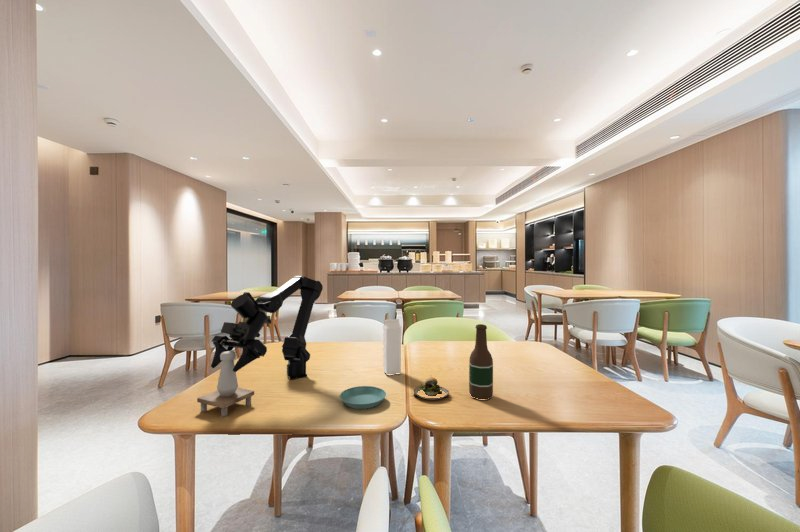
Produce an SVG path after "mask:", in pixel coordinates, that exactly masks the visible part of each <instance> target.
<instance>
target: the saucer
mask: <svg viewBox="0 0 800 532" xmlns="http://www.w3.org/2000/svg"><path fill="white" fill-rule="evenodd" d="M386 396H387V392H386V391H385V390H384V389H383V388H379V387H376V386H371V385H362V386H353V387H350V388H347V389H345V390H343V391H342V392H340V395H339V398H340V400H341V401H342V402H343V404H345V405H346V406H347V407H349V408H351V409H355V410H366V409H367V408H368V409H371V407H372V408H375V407H377V406H379V405H380V404H381V403H382V402H383V400H385V398H386ZM374 406H375V407H374Z"/></svg>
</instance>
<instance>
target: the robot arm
mask: <svg viewBox="0 0 800 532" xmlns="http://www.w3.org/2000/svg"><path fill="white" fill-rule="evenodd" d="M298 290H300V296H301V297H300V298H301V302H300V306H299V308H298V312H297V315H296V319H295V322H294V325H293V328H292V333H291V334H290V335H289V336H285V337H284V340H283V344H282V345H281V347H282V349H281V353H282V354H283V359H284V361H287V364H286V375H287V377H288V378H289V379H290V380H292V379H299V378H305V377H308V374H307V362H308V361H309V360H310V358H311V353H310V352H309V351H308V350H307V340H306V337H305V336H306V332H307V328H308V325H309V322H310V317H311V315H312V312H313V311H312V310H313V307H314V303H315V302H316V301H317V300H318V299H319V298H320V296H321V294H322V291H323V284H322V283H321V281H320V280H315V279H312V278H309V277H307V276H304V275H294V276H292V278H291V279H290V280H288V281H287V282H285V283H284V284H283V285H281V286H279V288H276V289H275V290H274V291H271V292H268V293H267V292H266V293H264V294H262V295H260V296H258V297H257V298H256V299H254V297H253V296H252V295H253V294H251V293H250V292H247V291H244V292H243V293H242V294H241V295H239V296H237V297H235V298H233V300H232V301H231V304H230V306H231V308H232V309H233V310H234V311H235V312H236V313H237V314H238V315H239V316H240V318H242V319H246V320H245V321H239V322H237V323H236V322H235V323H234V322H223V325H222V327H221V329H220V333H222V334H227V335H228V336H227V335H222V334H217V335H214V336H213V338H212V340H211V342H212V344H213V346H214V348H215V349H214V355H213V359H212V361H211V364H210V367H211V368H212V369H215V368H216V367H217V366H219V365H220V364H221V363H222V360H221V359H220V354H221V353H223V352H226V351H233V349H234V348H235V349H242V352H241V355H240V356H239V358H238V360H237V361H236V363H234V365H235V366H234V368H233V371H234V372H236V373H237V372H238V371H240V370H241V369H243V368H244V367H245V366H247V365H249V364H250V363H251V362H254V361H255V360H257V359H260V358H261V357H265V355H266V354H267V352H268V350H267V348H268V347H267V346H266V345H265V344H264V343H263V342H262V341H261V340H260V339H256V338H260V336H261V334H260V332H261V330H262V328H263V326H265V324H267V325H268V324H269V325H271V324H272V319H271V315H267V314H266V313H268V314H271V313H272V314H275V313H277V311H279V310H280V309H281V307H282V306H283V303H284V301H286V299H288V298H289V297H290V296H292V295H293V294H294V293H296V292H297V291H298ZM231 339H232V340H231Z"/></svg>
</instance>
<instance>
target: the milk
mask: <svg viewBox="0 0 800 532" xmlns="http://www.w3.org/2000/svg"><path fill="white" fill-rule="evenodd" d="M382 329H383V330H382V331H383V332H382V333H383V334H382V338H383V339H382V345H383V347H382V353H383V354H382V368H383V369H382V371H383V370H384V372H385V373H386V374H396V373H402V372H401V371H402V369H401V368H402V367H401V366H402V365H401V364H402V359H401V358H402V327H401V324H400V319H399V318H391V319H385V320H384V324H383V327H382ZM384 372H383V373H384ZM385 373H384V374H385Z"/></svg>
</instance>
